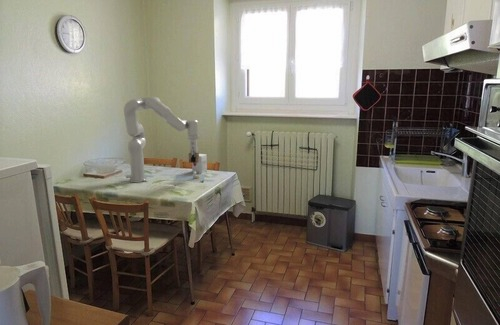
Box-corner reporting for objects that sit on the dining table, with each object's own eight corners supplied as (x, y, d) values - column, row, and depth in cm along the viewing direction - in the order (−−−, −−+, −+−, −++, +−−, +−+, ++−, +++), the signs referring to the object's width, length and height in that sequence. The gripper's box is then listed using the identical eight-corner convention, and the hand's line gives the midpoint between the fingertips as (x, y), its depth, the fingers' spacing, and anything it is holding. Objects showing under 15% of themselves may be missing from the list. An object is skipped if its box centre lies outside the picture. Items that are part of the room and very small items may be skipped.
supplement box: (192, 173, 280) (191, 155, 277) (197, 171, 289) (197, 153, 285) (201, 174, 277) (201, 156, 274) (207, 172, 285) (206, 154, 282)
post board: (173, 182, 255) (172, 174, 253) (176, 176, 272) (176, 168, 271) (203, 182, 256) (203, 174, 255) (205, 176, 273) (204, 168, 272)
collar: (188, 162, 256) (188, 154, 254) (189, 160, 262) (189, 152, 261) (198, 162, 256) (198, 154, 255) (199, 160, 263) (198, 152, 262)
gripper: (197, 138, 247) (198, 163, 251) (199, 135, 264) (200, 158, 268) (186, 138, 247) (187, 163, 250) (189, 135, 264) (190, 158, 267)
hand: (193, 160), depth 259 cm, fingers closed on collar, 7 cm apart
